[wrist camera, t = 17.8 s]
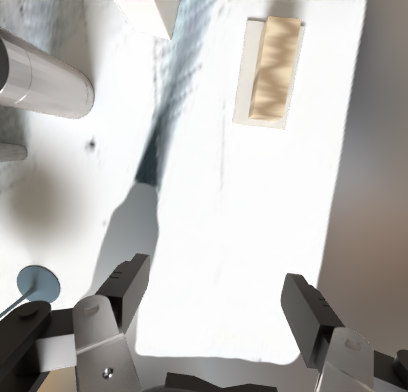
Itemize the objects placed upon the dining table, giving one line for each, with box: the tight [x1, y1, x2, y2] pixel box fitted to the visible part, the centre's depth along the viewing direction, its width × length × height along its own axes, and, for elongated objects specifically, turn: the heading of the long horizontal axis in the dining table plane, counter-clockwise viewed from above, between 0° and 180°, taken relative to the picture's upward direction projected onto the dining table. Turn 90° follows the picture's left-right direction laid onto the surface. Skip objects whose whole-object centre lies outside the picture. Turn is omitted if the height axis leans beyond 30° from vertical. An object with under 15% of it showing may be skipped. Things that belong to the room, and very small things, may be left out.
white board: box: [232, 20, 305, 130], centre depth 38 cm, size 10×17×1 cm, turn 173°
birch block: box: [248, 16, 302, 121], centre depth 35 cm, size 5×5×14 cm
